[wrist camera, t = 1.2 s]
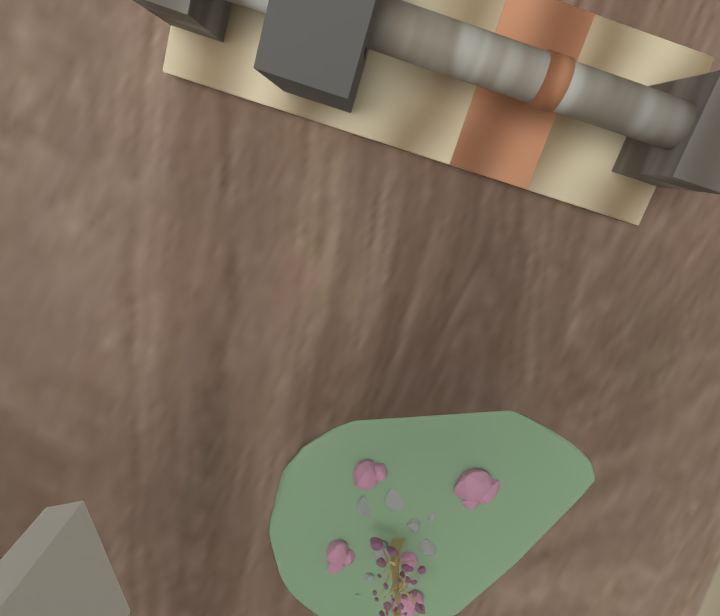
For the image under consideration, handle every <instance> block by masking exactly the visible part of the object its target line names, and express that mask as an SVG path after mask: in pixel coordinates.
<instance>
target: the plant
mask: <svg viewBox="0 0 720 616" xmlns="http://www.w3.org/2000/svg"><path fill="white" fill-rule="evenodd" d="M594 481H595V477H594V472H593V468H592V465H591V462H590V461H589V459H588V458H587V457H586V456H585V455H584V454H583V453H582V452H581V451H580V450H579V449H578V448H577V447H576V446H575V445H573V444H572V443H570V442H569V441H567V440H566V439H564V438H563V437H561V436H559V435H558V434H556V433H555V432H553V431H552V430H550V429H548V428H547V427H545V426H543V425H541V424H539V423H537V422H536V421H534V420H532V419H530V418H528V417H526V416H523V415H521V414H519V413H517V412H514V411H496V412H480V413H465V414H450V415H435V416H420V417H404V418H389V419H374V420H359V421H353V422H350V423H347V424H344V425H341V426H338V427H336V428H334V429H332V430H330V431H328V432H326V433H324V434H323V435H321V436H319V437H317V438H316V439H314V440H312V441H311V442H309V443H307V444H306V445H304V446H303V447H302V448H301V449H300V450H299V452H298V453H297V454H296V455H295V456H294V458H293V459H292V460H291V461H290V462H289V463H288V465H287V466H286V468H285V469H284V471H283V473H282V476H281V479H280V483H279V487H278V491H277V495H276V499H275V503H274V507H273V512H272V516H271V521H270V530H269V533H270V540H271V544H272V548H273V552H274V556H275V560H276V563H277V566H278V570H279V573H280V576H281V578H282V580H283V582H284V583H285V585H286V586H287V588H288V589H289V591H290V592H291V593H292V594H293V596H294V597H295V598H296V599H297V600H299V601H300V602H301V603H302V604H303V605H304V606H306V607H307V608H308V609H310V610H311V611H312V612H314V613H315V614H316V615H318V616H454V615H456V614H458V613H459V612H460V611H461V610H462V609H463V608H465V607H466V606H467V605H468V604H469V603H470V602H472V601H473V600H474V599H475V598H476V597H477V596H478V595H480V594H481V593H482V592H483V591H484V590H485V589H487V588H488V587H489V586H490V585H491V584H492V583H494V582H495V581H496V580H497V579H498V578H499V577H501V576H502V575H503V574H504V573H505V572H506V571H507V570H509V569H510V568H511V567H512V566H513V565H514V564H516V563H517V562H518V561H519V560H520V559H521V558H522V557H523V556H524V554H525V553H526V552H527V551H528V550H529V549H530V548H531V547H532V546H533V545H534V544H535V543H536V542H537V541H538V540H539V539H540V538H541V537H542V536H543V535H544V534H545V533H546V532H547V531H548V530H549V529H550V528H551V527H552V526H553V525H554V524H555V523H556V522H557V521H558V520H559V519H560V518H561V517H562V516H563V515H564V514H565V513H566V511H567V510H568V509H569V508H570V507H571V506H572V505H573V504H574V503H575V502H576V501H577V500H578V499H579V498H580V497H581V496H582V495H583V494H584V493H585V491H586V490H587V489H588V488H589V487H590V486H591V484H592V483H593V482H594Z"/></svg>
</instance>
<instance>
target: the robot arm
mask: <svg viewBox="0 0 720 616" xmlns="http://www.w3.org/2000/svg"><path fill="white" fill-rule="evenodd" d="M130 612H131V611H130V609H129V606H128V604H127V602H126V599H125V597H124V595H123V592H122V590H121V588H120V585H119V583H118V581H117V578H116V576H115V573H114V571H113V569H112V566H111V564H110V562H109V559H108V557H107V555H106V552H105V550H104V548H103V545H102V543H101V540H100V538H99V536H98V533H97V531H96V529H95V526H94V524H93V522H92V519H91V517H90V515H89V512H88V510H87V507H86V505H85V503H84V500H83V501H78V502H72V503H67V504H62V505H56V506H51V507H46V508H45V509H44V510H43V511H42V512H41V514H40V515H39V516H38V517H37V518H36V519H35V520H34V522H33V523H32V524H31V525H30V526H29V527H28V529H27V530H26V531H25V532H24V533H23V534H22V535H21V537H20V538H19V539H18V540H17V541H16V542H15V544H14V545H13V546H12V547H11V548H10V549H9V550H8V552H7V553H6V554H5V555H4V556H3V557H2V558H1V560H0V616H129V614H130Z"/></svg>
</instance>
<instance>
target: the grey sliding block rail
mask: <svg viewBox="0 0 720 616" xmlns="http://www.w3.org/2000/svg"><path fill="white" fill-rule="evenodd" d="M133 1H135V2H136V3H138V4H139V5H141V6H143V7H144V8H146V9H147V10H149V11H150V12H152V13H153V14H155V15H156V16H158V17H159V18H161V19H162V20H164V21H165V22H167V23H168V24H170V25H171V28H170V33H169V39H168V44H167V50H166V55H165V61H164V66H163V72H165V73H167V74H170V75H173V76H176V77H179V78H182V79H185V80H188V81H191V82H194V83H197V84H201V85H204V86H207V87H210V88H213V89H216V90H219V91H222V92H225V93H228V94H231V95H235V96H238V97H241V98H244V99H247V100H250V101H253V102H256V103H259V104H262V105H265V106H269V107H272V108H275V109H278V110H281V111H284V112H287V113H290V114H293V115H296V116H299V117H303V118H306V119H309V120H312V121H315V122H318V123H321V124H324V125H327V126H330V127H334V128H337V129H340V130H343V131H346V132H349V133H352V134H355V135H358V136H361V137H364V138H368V139H371V140H374V141H377V142H380V143H383V144H386V145H389V146H392V147H395V148H398V149H402V150H405V151H408V152H411V153H414V154H417V155H420V156H423V157H426V158H429V159H433V160H436V161H439V162H442V163H445V164H448V165H451V166H454V167H457V168H460V169H463V170H467V171H470V172H473V173H476V174H479V175H482V176H485V177H488V178H491V179H494V180H497V181H501V182H504V183H507V184H510V185H513V186H516V187H519V188H522V189H525V190H528V191H531V192H535V193H538V194H541V195H544V196H547V197H550V198H553V199H556V200H559V201H562V202H566V203H569V204H572V205H575V206H578V207H581V208H584V209H587V210H590V211H593V212H596V213H600V214H603V215H606V216H609V217H612V218H615V219H618V220H621V221H624V222H627V223H631V224H635V225H639V223H640V221H641V219H642V216H643V214H644V212H645V210H646V208H647V206H648V203H649V201H650V199H651V197H652V195H653V192H654V190H655V188H656V186H659V187H667V188H675V189H683V190H691V191H699V192H707V193H715V194H720V71H715V72H711V73H709V70H710V68H711V66H712V64H713V62H714V59H715V57H712V56H710V55H707V54H704V53H701V52H698V51H696V50H693V49H690V48H687V47H685V46H682V45H679V44H676V43H673V42H671V41H668V40H665V39H662V38H659V37H657V36H654V35H651V34H648V33H646V32H643V31H640V30H637V29H634V28H632V27H629V26H626V25H623V24H620V23H618V22H615V21H612V20H609V19H606V18H604V17H601V16H598V15H595V13H592V12H589V11H586V10H583V9H581V8H578V7H575V6H572V5H569V4H567V3H564V2H561V1H558V0H379V1H378V4H377V8H376V11H375V15H374V18H373V22H372V25H371V29H370V32H369V36H368V40H367V43H366V47H365V48H367V49H369V52H368V55H367V59H366V62H365V66H364V69H363V73H362V76H361V80H360V83H359V87H358V91H357V94H356V98H355V101H354V105H353V108H352V112H351V113H348V112H345V111H342V110H339V109H336V108H333V107H330V106H327V105H324V104H321V103H318V102H315V101H312V100H309V99H305V98H302V97H299V96H296V95H293V94H290V93H287V92H284V91H283V90H282V89H280V88H279V87H278V86H276V85H275V84H274V83H272V82H271V81H270V80H268V79H267V78H266V77H265V76H263V75H262V74H261V73H259V72H258V71H257V70H255V69H254V68H253V67H254V63H255V58H256V54H257V50H258V45H259V41H260V36H261V32H262V28H263V23H264V19H265V15H266V10H267V6H268V2H269V0H133Z"/></svg>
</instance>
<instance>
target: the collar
mask: <svg viewBox="0 0 720 616" xmlns="http://www.w3.org/2000/svg"><path fill="white" fill-rule="evenodd" d="M378 1H379V0H269V2H268V6H267V10H266V15H265V19H264V23H263V28H262V32H261V36H260V41H259V45H258V50H257V54H256V58H255V63H254V67H253V68H254V69H255V70H257V71H258V72H259V73H261V74H262V75H263V76H265V77H266V78H267V79H268V80H270V81H271V82H272V83H274V84H275V85H276V86H278V87H279V88H280V89H282V90H283V91H284V92H287V93H290V94H293V95H296V96H299V97H302V98H305V99H309V100H312V101H315V102H318V103H321V104H324V105H327V106H330V107H333V108H336V109H339V110H342V111H345V112H348V113H351V112H352V108H353V105H354V101H355V98H356V94H357V91H358V87H359V83H360V80H361V76H362V73H363V69H364V66H365V62H366V59H367V55H368V52H369V49H367V48H365V47H366V43H367V40H368V36H369V32H370V29H371V25H372V22H373V18H374V15H375V11H376V8H377V4H378Z"/></svg>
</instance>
